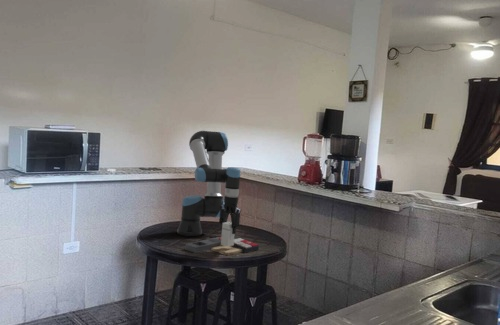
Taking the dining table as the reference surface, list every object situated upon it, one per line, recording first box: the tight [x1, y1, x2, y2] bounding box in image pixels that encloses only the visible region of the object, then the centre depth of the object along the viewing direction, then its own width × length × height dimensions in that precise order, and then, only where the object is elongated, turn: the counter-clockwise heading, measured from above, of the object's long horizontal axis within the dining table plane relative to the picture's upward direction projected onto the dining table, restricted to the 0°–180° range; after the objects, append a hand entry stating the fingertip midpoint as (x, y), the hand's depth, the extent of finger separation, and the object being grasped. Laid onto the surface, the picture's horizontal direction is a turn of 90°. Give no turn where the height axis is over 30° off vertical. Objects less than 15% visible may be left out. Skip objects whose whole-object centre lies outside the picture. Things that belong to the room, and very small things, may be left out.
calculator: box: [232, 237, 260, 254], centre depth 233 cm, size 11×4×15 cm
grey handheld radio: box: [184, 236, 222, 254], centre depth 230 cm, size 32×8×4 cm, turn 142°
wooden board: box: [211, 245, 243, 256], centre depth 225 cm, size 12×12×1 cm
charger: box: [220, 221, 236, 247], centre depth 224 cm, size 5×5×12 cm
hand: (227, 238), depth 224 cm, fingers closed on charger, 5 cm apart
